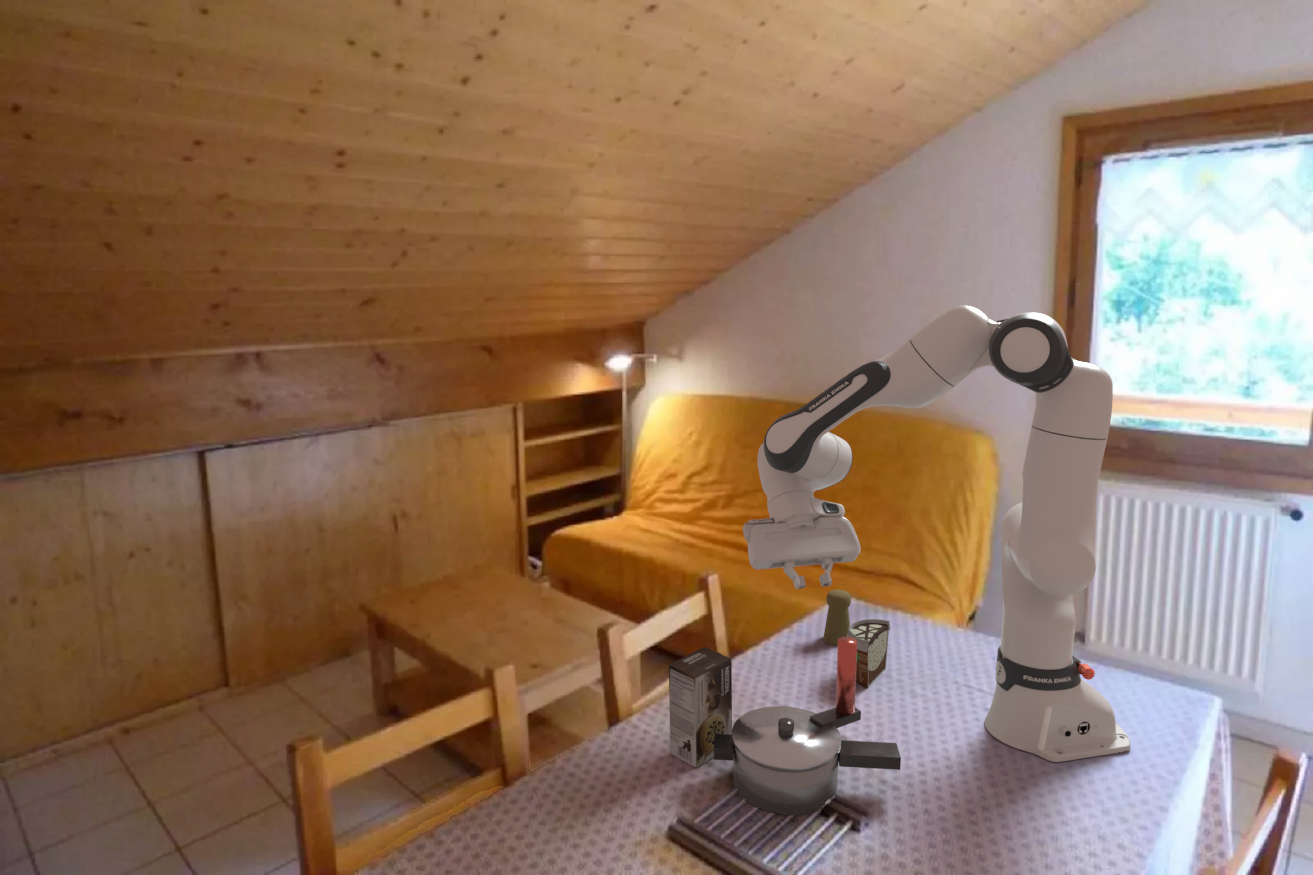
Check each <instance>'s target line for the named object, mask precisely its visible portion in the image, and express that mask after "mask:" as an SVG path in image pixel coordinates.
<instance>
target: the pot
mask: <svg viewBox="0 0 1313 875" xmlns="http://www.w3.org/2000/svg"><path fill="white" fill-rule="evenodd" d="M713 760H714V761H730V762H731V761H732V762H733V785H734V788H735V790H736V789H737V790H736V792H737V791H738V792H739V793H738V792H737V793H738V795H739V794H740V795H741V796H742V797H743V798H744V799H746V800H745V801H746V802H747V801H748V802H749V803H748V802H747V803H748V804H750V805H751V804H752V805H751V806H753V807H755V806H756V807H755V808H757V807H758V808H757V809H759V808H761V809H760V810H762V809H763V810H762V811H764V810H765V811H764V812H769V813H771V812H773V813H772V814H775V815H777V814H778V815H781V816H782V815H784V816H799V815H800V816H802V815H808V814H809V815H810V814H813V813H815V812H818V811H820V810H819V809H821V808H822V806H823V805H824V804H825V802H826V801H827V800H828V799H830V798H832V797H833V796H835V795H836V796H837V793H838V781H839V780H838V779H839V778H838V777H839V767H842V768H860V769H861V768H863V769H878V770H879V769H881V770H895V771H896V770H899V771H901V764H902V763H901V762H902V757H901V754H900V751H899V747H898V744H897V742H882V741H868V740H867V741H866V740H865V741H864V740H863V741H862V740H846V739H845V740H844V739H841V749H840V752H839V754H838V755H837V757H836V758H835V759H834V760H833V761H831V762H830V763H828V764H826V765H824V766H822V767H819V768H816V769H812V770H806V771H781V770H775V769H770V768H766V767H763V766H760V765H758V764H755V763H753V762H751V761H749V760H748V759H746V758H745V757H743V756H742V755H741V754H740V753H739V752H738V751H737V750H736V748H735V747H734V745H733V742H732V735H729V734H715V741H714V757H713ZM740 795H739V796H740ZM741 796H740V797H741ZM836 796H835V797H836ZM742 797H741V798H742ZM743 798H742V799H743ZM744 799H743V800H744ZM821 810H822V809H821Z"/></svg>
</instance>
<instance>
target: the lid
mask: <svg viewBox="0 0 1313 875" xmlns="http://www.w3.org/2000/svg"><path fill="white" fill-rule="evenodd" d="M836 655H837V658H836V660H837V661H836V690H835V707H833V708H830V709H828V710H827V709H826V710H824V711H821V712H819V713H816V712H814V711H810V710H807V709H804V708H800V707H795V706H794V707H793V706H786V705H785V706H784V705H783V706H780V705H779V706H777V705H776V706H765V707H759V708H756V709H753V710H750V711H748V712H746V713H744V714H743V715H741V716H739V718H738V719H736V720H735V721H734V723H733V724H732V742H733V745H734V747H735V748H736V750H737V751H738V752H739V753H740V754H741V755H742V756H743V757H745V758H746V759H748V760H749V761H751V762H753V763H755V764H758V765H760V766H763V767H766V768H770V769H775V770H781V771H806V770H812V769H816V768H819V767H822V766H824V765H826V764H828V763H830V762H831V761H833V760H834V759H835V758H836V757H837V755H838V754H839V752H840V749H841V740H842V736H841V733H840V731H839V728H842V727H844V726H847V725H850V724H853V723H856V722H858V721H861V719H862V718H861V717H862V716H861V715H862V710H860V709H858V708H857V707H856V686H857V685H856V684H857V683H856V664H857V640H856V639H854V638H852V637H840V638H839V639H838V646H837V654H836Z"/></svg>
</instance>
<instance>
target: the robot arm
mask: <svg viewBox="0 0 1313 875" xmlns="http://www.w3.org/2000/svg"><path fill="white" fill-rule="evenodd" d="M984 367H994V369H995V370H996V371H997V372H998V374H1000V375H1001V376H1002V377H1004V378H1005V379H1006V380H1009V381H1010V382H1012V383H1015V384H1016V385H1019V386H1022V387H1024V388H1026V389H1028V390H1031V391H1032V392H1034V393H1035V397H1036V399H1035V408H1034V414H1033V418H1032V422H1031V426H1030V427H1031V428H1030V433H1029V438H1028V443H1027V447H1026V450H1025V452H1026V453H1025V457H1024V463H1023V467H1022V475H1021V476H1022V501H1021V502H1019V503H1017V504H1015V505H1013V506H1012V507H1010V508H1009V509H1008V510H1007V511H1006V512H1005V514H1004V515H1003V518H1002V520H1001V526H1000V535H1001V548H1000V549H1001V552H1000V553H1001V580H1002V582H1001V584H1002V600H1003V601H1002V602H1003V603H1002V607H1003V608H1002V623H1001V634H1000V636H1001V637H1000V645H999V646H998V648H997V656H996V662H995V682H996V683H995V688H994V693H993V698H992V700H991V704H990V708H989V710H988V712H987V714H986V717H985V719H984V726H985V728H986V730H987V731H988V732H989V734H991V735H992V736H993V737H994V738H995V739H997V740H998V741H1000V742H1002V743H1003V744H1005V745H1008V746H1010V747H1011V748H1014V749H1018V750H1020V751H1024V752H1028V753H1031V754H1033V755H1036V756H1039V757H1041V758H1043V759H1044V760H1047V761H1049V762H1052V763H1053V762H1054V763H1061V762H1069V761H1073V760H1081V759H1086V758H1093V757H1100V756H1105V755H1106V756H1107V755H1112V754H1118V753H1119V752H1120V753H1125V752H1124V751H1126V752H1128V751H1127V750H1129V751H1130V750H1131V740H1130V738H1129V736H1128V734H1127V733H1126V732H1125V730H1124V729H1123V727H1121V726H1120V725H1119V724H1118V723H1117V722H1116V716H1115V712H1114V710H1113V707H1112V705H1111V704H1110V702H1109V700H1107V699H1106V697H1104V695H1103V694H1102V693H1101V692H1099V691H1098V690H1097V689H1096V688H1094V687H1093V686H1092V685H1090V683H1088V682H1087V681H1085V680H1092V679H1093V678H1094V677H1095V675H1096V671H1095V670H1094V669H1093V668H1092V667H1091V666H1090V665H1088V664H1087V663H1082V661H1081V660H1080V659H1079V658H1078V657H1076V656H1074V655H1073V650H1074V643H1075V642H1074V641H1075V631H1076V630H1075V629H1076V610H1075V605H1074V598H1073V596H1074V595H1076V594H1078V593H1080V592H1082V591H1083V590H1085V589H1086V588H1087V587H1088V586H1089V585H1090V584H1091V582H1092V580H1093V579H1094V578H1095V577H1094V576H1095V574H1096V566H1097V565H1096V558H1095V536H1096V522H1097V521H1096V519H1097V516H1096V515H1097V493H1098V485H1099V484H1098V483H1099V479H1100V474H1101V471H1102V465H1103V461H1104V456H1105V451H1106V446H1107V441H1108V437H1109V433H1110V427H1111V420H1112V411H1113V401H1114V400H1113V398H1114V397H1113V396H1114V395H1113V393H1114V392H1113V391H1114V390H1113V380H1112V377H1111V376H1110V374H1109V373H1108V372H1107V371H1106V370H1104V369H1103V368H1102V367H1100V366H1098V365H1096V364H1093V363H1089V362H1085V361H1084V362H1083V361H1081V360H1080V361H1079V360H1076V359H1075V358H1073V357H1072V356H1071V353H1070V351H1069V345H1068V341H1067V336H1066V333H1065V330H1064V329H1063V328H1062V326H1061V325H1060V324H1059V323H1058V322H1057V321H1056V320H1055V319H1053V317H1051V316H1048V315H1047V314H1044V313H1041V312H1033V311H1032V312H1031V311H1028V312H1027V311H1026V312H1023V313H1018V314H1015V315H1013V316H1011V317H1010V318H1004V319H999V320H996V321H994V320H992V319H991V318H990V317H989V316H987V315H986V314H985V313H984V312H982V311H981V310H980V309H979V308H976V307H974V306H971V305H967V304H961V305H956V306H953V307H951V308H950V309H948V310H947V311H945V312H943V313H942V314H941V315H939V316H937V317H935V318H934V319H933V320H931V321H930V322H928V323H927V324H926V325H925V326H923V327H922V328H921V329H919V330H918V331H916V332H915V334H913V335H912V336H911V337H910V338H909V339H908V340H906V341H905V342H904V343H902V344H901V345H900V346H898V347H897V348H896V349H894V350H893V351H891V352H890V353H887V354H886V355H884V356H883V357H881V358H878V359H876V360H873V361H869V362H867V363H865V364H862V365H861V366H859V367H857V368H856V369H854V370H852V371H851V372H850V373H848V374H847V375H845V376H843V377H842V378H840V379H839V380H838V381H837V382H835V383H833V384H832V385H831V386H829V387H828V388H826V389H825V390H824V391H822V392H821V393H820V394H818V395H817V396H816V397H814V398H813V399H811V400H809V402H807V403H805V404H804V405H803V406H801V407H799V408H798V409H796V410H794V411H791V412H788V413H785V414H783V415H780V417H778V418H777V419H775V420H774V421H773V422H772V424H770V426H769V427H768V429H767V430H766V433H765V434H764V438H763V443H761V445H760V446H759V449H758V452H757V469H758V474H759V480H760V483H761V486H762V491H763V492H764V494H765V495H766V500H767V502H766V505H767V506H766V507H767V509H768V515H769V517H767V518H760V519H756V518H755V519H749V520H748V521H747V522H745V523H744V524H743V526H742V533H743V538H744V540H745V541H746V542H747V553H748V554H747V555H748V561H749V564H750V566H751V567H752V568H753V569H754V570H768V569H781V568H783V572H784V574H786V576H788V578H789V579H790V580H791V581H793V586H794V589H796V590H799V589H800V590H801V589H804V588H805V587H806V581H805V576H804V575H799V574H798V573H797V571H796V570H795V569H794V568H795V567H803V566H814V565H815V566H816V565H820V566H821V569H822V570H825V571H824V573H821V575H820V576H819V578H818V579H819V583H820V586H821V587H831V585H832V583H833V579H832V577H831V573H832V569H833V566H834V564H837V563H838V564H839V563H851V562H854V561H855V560H856V559H857V558H858V557H859V554H861V550H862V548H861V544H860V541H859V537H858V535H857V532H856V531H855V528H854V526H853V524H852V522H851V521H850V520H849V519H847V518H846V517H844V516H845V514H846V511H845V507H844V505H842V504H840V503H837V502H831V501H827V500H823V499H820V498H818V497H815V496H814V492H816V491H817V492H818V491H821V490H825V489H827V488H829V487H832V486H834V485H837V484H839V483H841V482H842V481H843V480H844V479H845V478H846V477H847V476H848V475H849V473H850V471H851V469H852V466H853V460H854V459H853V457H854V456H853V450H852V448H851V446H850V444H849V442H848V441H847V440H845V439H844V438H842V437H840V436H838V435H836V434H834V433H832V432H830V431H831V430H833V429H834V428H835V427H837V426H838V425H840V424H842V423H843V422H844V421H846V420H847V419H848V418H850V417H851V416H853V415H854V414H856V413H858V412H859V411H862V410H865V409H867V408H871V407H883V406H884V407H898V408H899V407H900V408H906V409H917V408H919V409H920V408H924V407H927V406H929V405H931V404H933V403H934V402H936V401H938V400H940V399H941V398H942V397H944V396H945V395H947V393H948V392H950V391H951V390H952V389H954V388H955V386H957V385H959V384H960V383H961V382H962V381H963V380H964V379H965V378H966V377H968V376H969V375H970V374H972V373H973V372H975V371H977V370H979V369H981V368H984ZM1081 676H1082V677H1083V678H1084V679H1085V680H1084V679H1083V678H1082V677H1081ZM1120 753H1119V754H1120Z"/></svg>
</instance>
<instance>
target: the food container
mask: <svg viewBox="0 0 1313 875" xmlns="http://www.w3.org/2000/svg"><path fill="white" fill-rule="evenodd" d="M890 624H891V623H890V620H886V619H885V620H884V619H878V618H877V619H876V618H874V619H873V618H865V619H860V620H857V621H855V622H853V623H851V624H850V628H849V629H848V633H847V636H846V637H852V638H854V639H856V640H857V664H856V684H857V685H859V686H860V687H863V688H866V689H869V688H870V687H871V686H872V685H873V684H874V682H876V680H878V678H879V677H880V676H881V675H882V674H883V673H884V672H885V670H886V669H887V657H888V647H889V645H888V644H889V634H890V632H889V631H890V630H891V625H890Z"/></svg>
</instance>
